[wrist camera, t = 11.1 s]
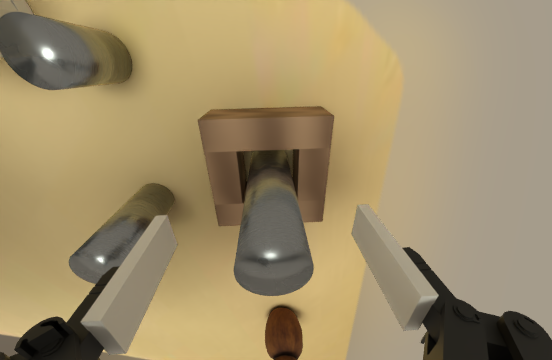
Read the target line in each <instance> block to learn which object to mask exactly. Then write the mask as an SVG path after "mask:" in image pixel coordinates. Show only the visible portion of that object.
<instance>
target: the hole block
mask: <svg viewBox="0 0 552 360" xmlns="http://www.w3.org/2000/svg"><path fill="white" fill-rule="evenodd" d="M333 121H334V115H332V114H331V113H329V112H328V111H327V110H325V109H324V108H322V107H288V108H254V109H220V110H210V111H209V112H207V113H206V114H205V115H204V116H202V117H201V118H200V119H198V124H199V129H200V134H201V139H202V144H203V149H204V154H205V159H206V164H207V169H208V174H209V179H210V184H211V189H212V194H213V199H214V204H215V209H216V215H217V220H218V225H219V226H233V225H241V220H242V214H243V207H244V201H245V194H246V188H247V181H246V174H245V164H244V155H243V151H259V150H288V149H293V172H292V179H293V183H294V187H295V192H296V196H297V200H298V204H299V208H300V212H301V216H302V220H303V222H321V221H323V212H324V203H325V193H326V184H327V175H328V166H329V157H330V148H331V139H332V130H333Z"/></svg>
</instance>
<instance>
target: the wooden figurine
mask: <svg viewBox="0 0 552 360" xmlns="http://www.w3.org/2000/svg"><path fill="white" fill-rule="evenodd" d="M265 344H266V348H267V352H268V354H269V356H270V357H271V358H272V359H274V360H297V359H298V358H299V356H300V354H301V353H302V348H303V343H302V329H301V326H300V323H299V321H298V319H297V317H296V315H295V314H294V313H293V312H292V311H291V310H290V309H287V308H276V309H274V310H272V312H271V313H270V315H269V317H268V320H267V323H266V330H265Z"/></svg>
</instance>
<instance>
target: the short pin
mask: <svg viewBox="0 0 552 360" xmlns="http://www.w3.org/2000/svg"><path fill="white" fill-rule="evenodd" d="M0 52H1V54H2V56H3V57H4V59H5V61H6V62H7V63H8V65H9V66H10V67H11V68H12V69H13V70H14V71H15V72H16V73H17V74H18V75H19V76H21V77H22V78H23V79H25V80H26V81H28V82H29V83H31V84H33V85H35V86H37V87H40V88H43V89H48V90H59V89H69V88H78V87H88V86H97V85H107V84H116V83H122V82H124V81H126V80H127V79H128V78H129V76H130V75H131V72H132V60H131V57H130V54H129V52H128V50H127V48H126V47H125V45H124V44H123V43H122V42H121V41H120V40H119V39H118V38H117V37H115V36H114V35H112V34H111V33H109V32H106V31H102V30H98V29H94V28H89V27H85V26H81V25H76V24H72V23H67V22H63V21H59V20H54V19H50V18H45V17H41V16H37V15H32V14H28V13H23V12H9V13H6V14H4V15H3V16H2V17H1V18H0Z"/></svg>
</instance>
